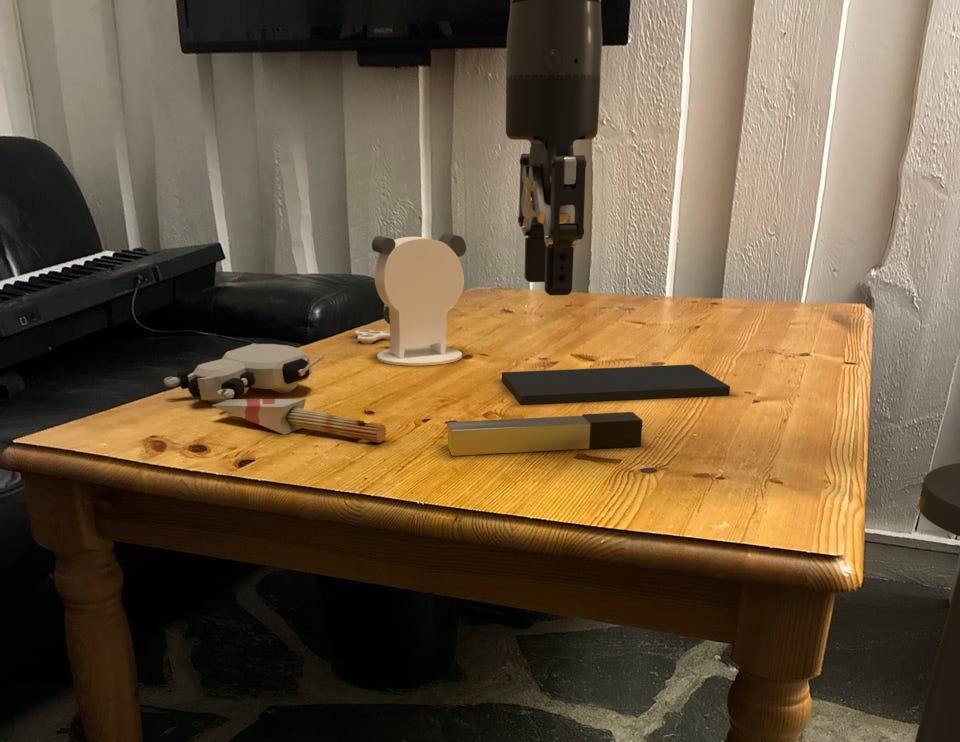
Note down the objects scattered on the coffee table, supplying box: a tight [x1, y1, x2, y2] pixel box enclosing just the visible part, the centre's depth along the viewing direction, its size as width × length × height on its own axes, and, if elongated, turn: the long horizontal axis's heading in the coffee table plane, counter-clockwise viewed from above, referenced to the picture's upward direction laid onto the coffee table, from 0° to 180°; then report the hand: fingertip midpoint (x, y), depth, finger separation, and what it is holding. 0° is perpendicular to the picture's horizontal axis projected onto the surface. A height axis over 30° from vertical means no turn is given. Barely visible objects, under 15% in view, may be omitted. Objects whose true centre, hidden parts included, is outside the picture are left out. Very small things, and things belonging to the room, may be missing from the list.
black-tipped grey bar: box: [446, 411, 643, 457], centre depth 88 cm, size 18×3×2 cm, turn 99°
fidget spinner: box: [354, 329, 390, 343], centre depth 137 cm, size 7×6×1 cm
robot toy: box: [163, 343, 325, 404], centre depth 106 cm, size 12×4×15 cm
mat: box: [501, 364, 731, 406], centre depth 109 cm, size 24×12×1 cm, turn 99°
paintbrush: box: [211, 398, 387, 444], centre depth 93 cm, size 4×3×20 cm
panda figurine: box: [371, 233, 467, 367], centre depth 122 cm, size 12×11×15 cm
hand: (546, 287), depth 82 cm, fingers open, 8 cm apart
